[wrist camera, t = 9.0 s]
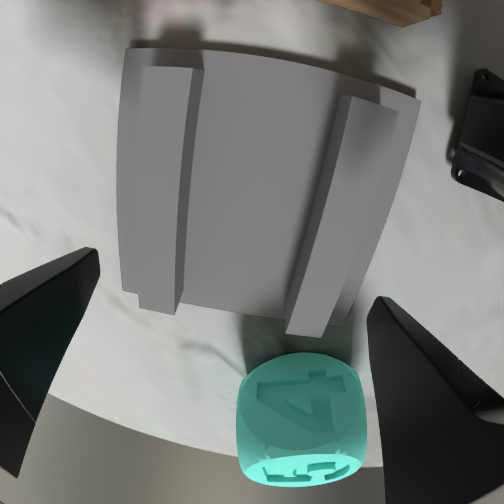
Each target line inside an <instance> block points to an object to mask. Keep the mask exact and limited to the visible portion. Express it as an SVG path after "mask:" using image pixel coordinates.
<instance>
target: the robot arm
mask: <svg viewBox="0 0 504 504" xmlns="http://www.w3.org/2000/svg"><path fill="white" fill-rule="evenodd" d="M482 75H484V77H485V80H484V81H483V78H482ZM460 170H462V173H461V175H460V176H458V172H459V171H460ZM451 176H452V178H453V179H454V180H455V181H457V182H458V183H461V184H463V185H466V186H468V187H471V188H473V189H475V190H478V191H480V192H482V193H485V194H487V195H489V196H492V197H494V198H496V199H498V200H501V201H503V202H504V81H503V80H502V79H500V78H499V77H498V76H496V75H495V74H493V73H492V72H490V71H488V70H487V69H483V68H479V69H477V70H476V71H475V74H474V80H473V86H472V91H471V96H470V98H469V102H468V106H467V111H466V115H465V119H464V123H463V127H462V131H461V135H460V139H459V145H458V149H457V152H456V155H455V159H454V162H453V165H452V168H451ZM99 277H100V264H99V256H98V251H97V250H96V249H94V248H89V247H84V248H82V249H79V250H77V251H74V252H72V253H69V254H67V255H65V256H62V257H60V258H58V259H55V260H53V261H51V262H48V263H46V264H44V265H41V266H39V267H37V268H34V269H32V270H30V271H28V272H26V273H23V274H21V275H19V276H17V277H15V278H12V279H10V280H8V281H6V282H4V283H2V284H0V468H1V469H2V470H4V471H5V472H7V473H9V474H10V475H12V476H13V477H15V478H18V475H19V472H20V469H21V465H22V462H23V459H24V456H25V453H26V450H27V446H28V443H29V441H30V438H31V435H32V432H33V429H34V426H35V422H36V420H37V418H38V415H39V412H40V410H41V407H42V405H43V403H44V400H45V398H46V395H47V393H48V390H49V388H50V386H51V383H52V381H53V379H54V376H55V374H56V372H57V370H58V367H59V365H60V363H61V361H62V359H63V356H64V354H65V352H66V350H67V348H68V346H69V344H70V342H71V340H72V338H73V336H74V334H75V332H76V330H77V328H78V326H79V324H80V322H81V320H82V318H83V316H84V314H85V311H86V309H87V306H88V304H89V301H90V299H91V296H92V294H93V291H94V289H95V287H96V284H97V282H98V280H99ZM367 333H368V346H369V359H370V367H371V373H372V379H373V385H374V392H375V398H376V405H377V413H378V420H379V428H380V437H381V446H382V457H383V468H384V477H385V478H384V482H385V501H386V504H504V398H503V397H502V396H501V395H499V394H498V393H497V392H496V391H495V390H494V389H492V388H491V387H490V386H489V385H488V384H486V383H485V382H484V381H483V380H482V379H481V378H479V377H478V376H477V375H476V374H475V373H474V372H473V371H472V370H470V369H469V368H468V367H467V366H466V365H465V364H464V363H463V362H462V361H461V360H458V358H457V357H456V356H455V355H454V354H453V353H452V352H451V351H450V350H449V349H448V348H447V347H445V346H444V345H443V344H442V343H441V342H440V341H439V340H438V339H437V338H435V337H434V336H433V335H432V334H431V333H430V332H429V331H428V330H427V329H425V328H424V327H423V326H422V325H421V324H420V323H419V322H417V321H416V320H415V319H414V318H413V317H412V316H411V315H409V314H408V313H407V312H406V311H405V310H404V309H402V308H401V307H400V306H399V305H398V304H397V303H395V302H394V301H393V300H392V299H391V298H389V297H384V296H378V297H377V298H376V299H375V301H374V303H373V305H372V307H371V309H370V311H369V313H368V316H367ZM0 504H4V503H3V502H1V501H0Z"/></svg>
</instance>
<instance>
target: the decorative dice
mask: <svg viewBox="0 0 504 504" xmlns="http://www.w3.org/2000/svg"><path fill="white" fill-rule="evenodd" d="M236 438H237V450H238V457H239V462H240V466H241V469H242V471H243V472H244V474H245V475H246V476H247V477H248V478H250V479H251V480H253V481H256V482H258V483H262V484H266V485H272V486H281V487H302V486H313V485H319V484H325V483H329V482H333V481H336V480H339V479H342V478H344V477H347V476H349V475H351V474H352V473H354V472H355V471H356V470H358V468H360V466H361V465H362V464H363V462H364V458H365V454H366V445H367V419H366V408H365V401H364V395H363V390H362V386H361V382H360V379H359V376H358V374H357V372H356V371H355V370H354V369H353V368H351V367H350V366H349V365H347V364H345V363H344V362H342V361H340V360H338V359H336V358H333V357H330V356H327V355H323V354H318V353H309V352H301V353H292V354H286V355H282V356H279V357H276V358H273V359H271V360H269V361H267V362H265V363H263V364H261V365H260V366H258V367H257V368H255V369H254V370H253V371H252V372H250V373H249V374H248V375H247V376H246V377H245V378H244V379H243V380H242V382H241V384H240V388H239V393H238V400H237V411H236Z"/></svg>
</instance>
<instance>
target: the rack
mask: <svg viewBox="0 0 504 504" xmlns="http://www.w3.org/2000/svg"><path fill="white" fill-rule="evenodd" d="M316 1H321V2H325V3H329V4H332V5H336V6H340V7H343V8H347V9H350V10H354V11H357V12H360V13H363V14H366V15H369V16H372V17H375V18H378V19H380V20H383V21H386V22H389V23H391V24H394V25H396V26H399V27H401V28H402V27H405V26H408V25H411V24H414V23H417V22H420V21H423V20H426V19H429V18H430V17H432V16H436V15H439V14H441V9H442V0H316Z"/></svg>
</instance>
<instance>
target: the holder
mask: <svg viewBox="0 0 504 504" xmlns="http://www.w3.org/2000/svg"><path fill="white" fill-rule="evenodd" d="M420 105H421V101H420V100H418V99H416V98H413V97H411V96H408V95H405V94H403V93H400V92H397V91H395V90H392V89H389V88H386V87H384V86H381V85H378V84H375V83H372V82H369V81H365V80H362V79H359V78H356V77H352V76H349V75H345V74H342V73H338V72H334V71H330V70H327V69H323V68H318V67H314V66H310V65H305V64H301V63H296V62H291V61H286V60H281V59H275V58H269V57H263V56H257V55H250V54H242V53H234V52H225V51H214V50H201V49H182V48H129V49H126V51H125V58H124V66H123V74H122V83H121V93H120V104H119V118H118V136H117V224H118V242H119V256H120V268H121V279H122V288H123V291H127V292H131V293H136V294H138V297H139V308H142V309H147V310H152V311H156V312H161V313H166V314H171V315H175V312H176V309H177V307H178V304H179V302H180V303H185V304H191V305H196V306H202V307H207V308H213V309H218V310H224V311H230V312H236V313H242V314H249V315H255V316H262V317H268V318H275V319H282V320H285V331H286V334H292V335H300V336H309V337H317V338H321V337H322V335H323V332H324V330H325V328H326V325H329V326H337V327H342V326H343V324H344V322H345V319H346V317H347V315H348V313H349V311H350V309H351V306H352V304H353V302H354V300H355V297H356V295H357V293H358V290H359V288H360V286H361V284H362V281H363V279H364V276H365V274H366V272H367V269H368V267H369V264H370V262H371V259H372V257H373V254H374V252H375V249H376V247H377V244H378V241H379V239H380V236H381V233H382V231H383V228H384V225H385V222H386V220H387V217H388V214H389V211H390V208H391V205H392V202H393V200H394V197H395V193H396V190H397V187H398V184H399V181H400V178H401V175H402V171H403V168H404V165H405V161H406V158H407V155H408V151H409V148H410V144H411V140H412V137H413V133H414V129H415V125H416V121H417V117H418V113H419V109H420Z"/></svg>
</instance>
